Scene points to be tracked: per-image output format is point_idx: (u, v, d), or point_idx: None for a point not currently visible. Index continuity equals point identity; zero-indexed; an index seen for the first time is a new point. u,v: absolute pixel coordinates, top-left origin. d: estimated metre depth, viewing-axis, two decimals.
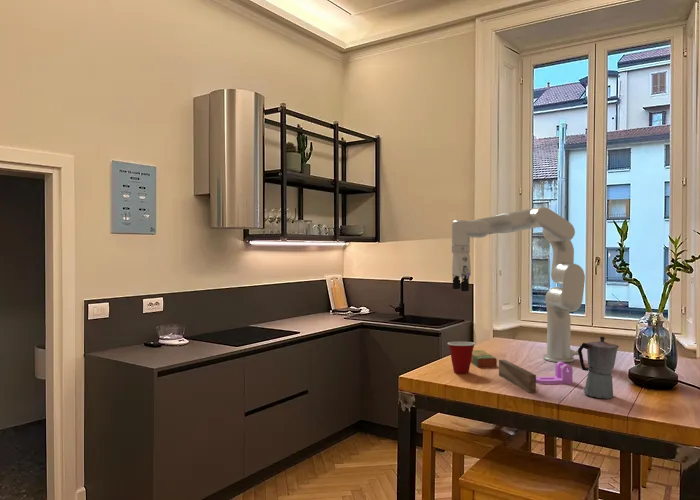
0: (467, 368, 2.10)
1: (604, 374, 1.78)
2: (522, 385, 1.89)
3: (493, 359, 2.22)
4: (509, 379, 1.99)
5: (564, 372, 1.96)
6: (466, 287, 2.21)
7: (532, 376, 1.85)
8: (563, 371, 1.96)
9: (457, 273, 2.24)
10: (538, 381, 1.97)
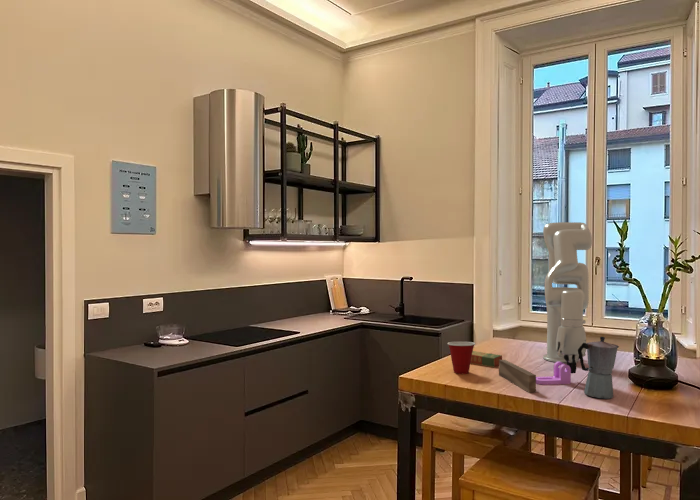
0: (467, 368, 2.10)
1: (604, 374, 1.78)
2: (522, 385, 1.89)
3: (500, 356, 2.26)
4: (509, 379, 1.99)
5: (562, 372, 1.96)
6: None
7: (532, 376, 1.85)
8: (561, 371, 1.96)
9: None
10: (536, 381, 1.96)
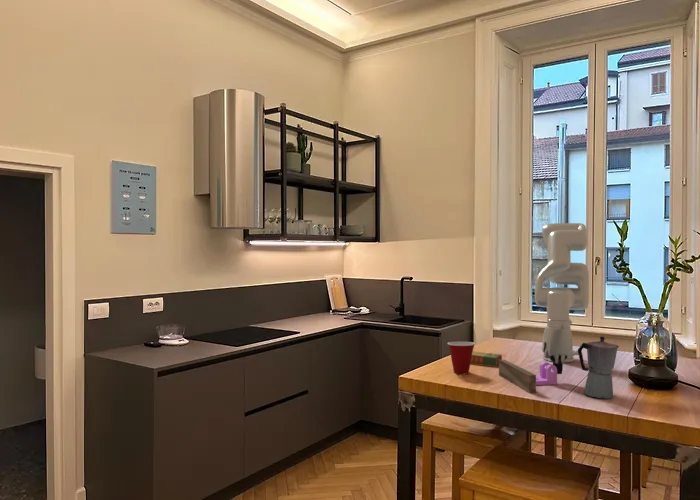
0: (467, 368, 2.10)
1: (604, 374, 1.78)
2: (522, 385, 1.89)
3: (500, 356, 2.28)
4: (509, 379, 1.99)
5: (549, 372, 1.95)
6: None
7: (532, 376, 1.85)
8: (548, 371, 1.95)
9: (566, 352, 1.97)
10: None
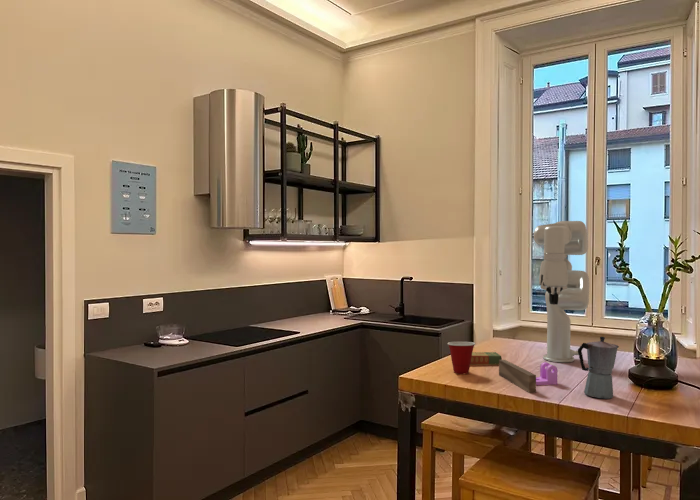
0: (467, 368, 2.10)
1: (604, 374, 1.78)
2: (522, 385, 1.89)
3: None
4: (509, 379, 1.99)
5: (549, 373, 1.95)
6: None
7: (532, 376, 1.85)
8: (548, 372, 1.95)
9: (562, 283, 2.10)
10: None
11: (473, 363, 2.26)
